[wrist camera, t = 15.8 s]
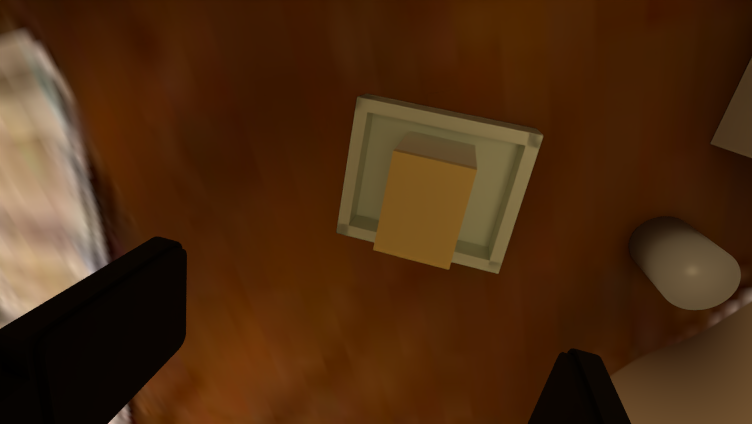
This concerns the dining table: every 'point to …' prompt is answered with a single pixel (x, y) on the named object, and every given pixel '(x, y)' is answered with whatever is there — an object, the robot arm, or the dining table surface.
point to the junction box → (738, 119)
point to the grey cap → (684, 263)
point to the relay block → (426, 198)
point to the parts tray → (491, 138)
